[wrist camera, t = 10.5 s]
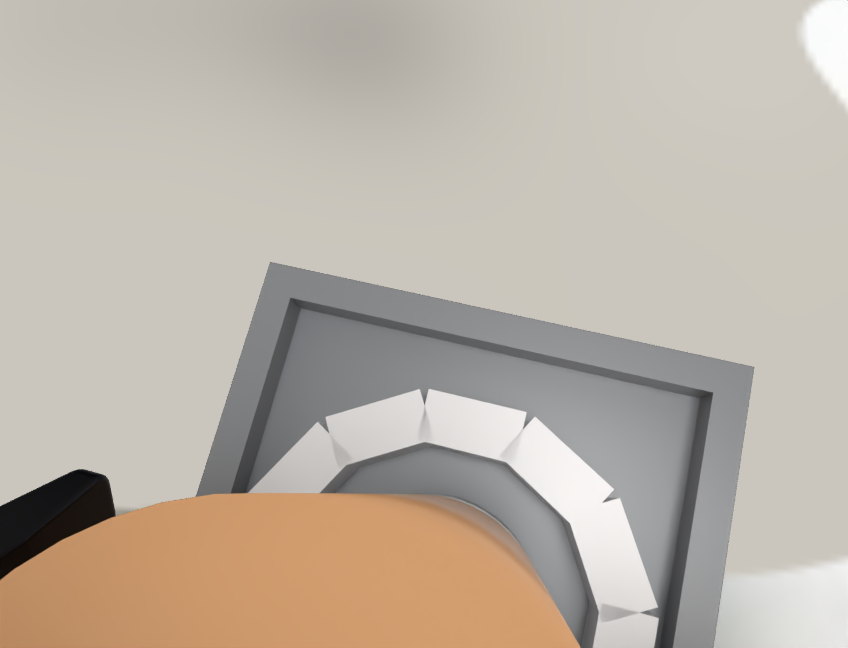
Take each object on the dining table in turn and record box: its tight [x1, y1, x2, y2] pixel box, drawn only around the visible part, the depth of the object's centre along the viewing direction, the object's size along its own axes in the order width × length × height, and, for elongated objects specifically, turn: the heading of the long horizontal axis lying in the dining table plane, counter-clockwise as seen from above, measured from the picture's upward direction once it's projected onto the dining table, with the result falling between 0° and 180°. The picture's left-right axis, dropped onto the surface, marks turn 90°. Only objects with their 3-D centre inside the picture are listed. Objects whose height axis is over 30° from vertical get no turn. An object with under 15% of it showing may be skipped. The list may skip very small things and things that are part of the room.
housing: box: [196, 262, 754, 648], centre depth 16 cm, size 14×12×2 cm
